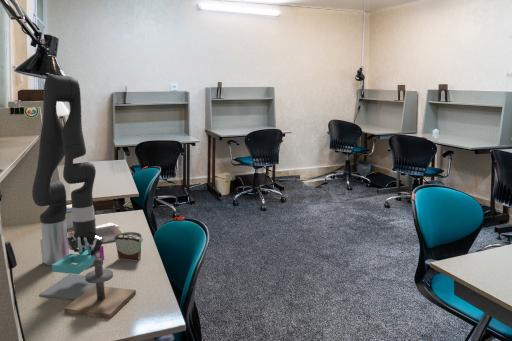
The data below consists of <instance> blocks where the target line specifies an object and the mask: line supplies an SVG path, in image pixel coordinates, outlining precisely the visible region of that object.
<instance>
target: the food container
mask: <svg viewBox="0 0 512 341" xmlns="http://www.w3.org/2000/svg"><path fill="white" fill-rule="evenodd" d="M114 240H115V245H116V251H117V253H116V254H117V258H118V260H126V261H134V262H135V261H136V262H140V261H141V258H142V257H141V256H142V255H141V254H142V243H143V241H144V238H143V236H142V234H141V233H140V232H135V231H127V232H122V233H120V234H117V235H115V237H114Z"/></svg>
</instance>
